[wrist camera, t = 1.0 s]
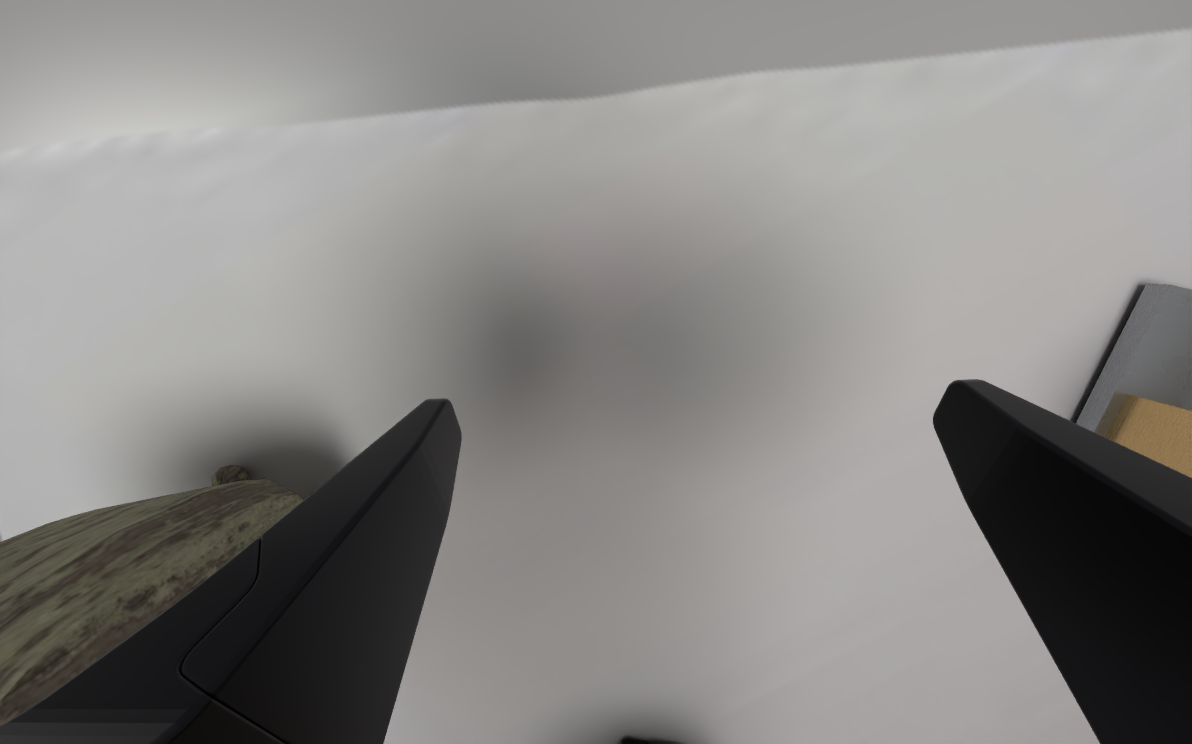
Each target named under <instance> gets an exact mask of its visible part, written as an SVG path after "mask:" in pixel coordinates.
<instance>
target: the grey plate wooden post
mask: <svg viewBox="0 0 1192 744" xmlns="http://www.w3.org/2000/svg"><path fill="white" fill-rule="evenodd" d="M1076 424H1078V425H1080V426H1082V427H1084V428H1086V429H1088V430H1090V431H1092V432H1095V433H1097V434H1099V435H1101V436H1103V437H1105V438H1107V439H1110V440H1112V441H1114V442H1116V443H1118V444H1120V445H1122V446H1125V447H1127V448H1129V449H1131V450H1133V451H1135V452H1137V453H1140V454H1142V455H1144V456H1146V457H1148V458H1150V459H1152V460H1155V461H1157V462H1159V463H1161V464H1163V465H1165V466H1167V467H1170V468H1172V469H1174V470H1176V471H1178V472H1180V473H1182V474H1185V475H1187V476H1189V477H1191V478H1192V290H1190V289H1185V288H1181V287H1177V286H1173V285H1158V284H1146V285H1145V287H1144V289H1143V291H1142V293H1141V295H1140V297H1139V299H1138V301H1137V303H1136V305H1135V307H1134V309H1133V311H1132V313H1131V315H1130V317H1129V319H1128V321H1127V323H1126V325H1125V327H1124V329H1123V331H1122V333H1121V335H1120V337H1119V339H1118V341H1117V343H1116V345H1115V347H1114V349H1113V351H1112V353H1111V355H1110V357H1109V358H1108V360H1107V362H1106V364H1105V366H1104V368H1103V370H1102V372H1101V374H1100V376H1099V378H1098V380H1097V382H1096V384H1095V386H1094V388H1093V390H1092V392H1091V394H1090V396H1089V398H1088V400H1087V402H1086V404H1085V406H1084V408H1083V410H1082V412H1081V414H1080V416H1079V418H1078V420H1077V422H1076Z"/></svg>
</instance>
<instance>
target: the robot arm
mask: <svg viewBox="0 0 1192 744" xmlns="http://www.w3.org/2000/svg"><path fill="white" fill-rule="evenodd" d="M933 425H934V428H935V431H936V433H937V436H938V438H939V440H940V443H941V445H942V448H943V450H944V452H945V455H946V457H947V459H948V462H949V464H950V467H951V469H952V471H953V474H954V476H955V478H956V481H957V483H958V485H959V488H960V490H961V492H962V495H963V497H964V499H965V501H966V503H967V505H968V507H969V509H970V511H971V513H972V515H973V517H974V518H975V520H976V522H977V524H978V526H979V527H980V529H981V531H982V533H983V534H984V536H985V538H986V540H987V542H988V543H989V545H990V547H991V549H992V551H993V552H994V554H995V556H996V558H997V560H998V561H999V563H1000V565H1001V567H1002V569H1003V570H1004V572H1005V574H1006V576H1007V577H1008V579H1009V581H1010V583H1011V585H1012V586H1013V588H1014V590H1015V592H1016V594H1017V595H1018V597H1019V599H1020V601H1021V603H1022V604H1023V606H1024V608H1025V610H1026V612H1027V613H1028V615H1029V617H1030V619H1031V620H1032V622H1033V624H1034V626H1035V628H1036V629H1037V631H1038V633H1039V635H1040V637H1041V638H1042V640H1043V642H1044V644H1045V646H1046V647H1047V649H1048V651H1049V653H1050V654H1051V656H1052V658H1053V660H1054V662H1055V663H1056V665H1057V667H1058V669H1059V671H1060V672H1061V674H1062V676H1063V678H1064V680H1065V681H1066V683H1067V685H1068V687H1069V689H1070V690H1071V692H1072V694H1073V696H1074V697H1075V699H1076V701H1077V703H1078V705H1079V706H1080V708H1081V710H1082V712H1083V714H1084V715H1085V717H1086V719H1087V721H1088V723H1089V724H1090V726H1091V728H1092V730H1093V732H1094V733H1095V735H1096V737H1097V739H1098V740H1099V742H1100V744H1192V478H1191V477H1189V476H1187V475H1185V474H1182V473H1180V472H1178V471H1176V470H1174V469H1172V468H1170V467H1167V466H1165V465H1163V464H1161V463H1159V462H1157V461H1155V460H1152V459H1150V458H1148V457H1146V456H1144V455H1142V454H1140V453H1137V452H1135V451H1133V450H1131V449H1129V448H1127V447H1125V446H1122V445H1120V444H1118V443H1116V442H1114V441H1112V440H1110V439H1107V438H1105V437H1103V436H1101V435H1099V434H1097V433H1095V432H1092V431H1090V430H1088V429H1086V428H1084V427H1082V426H1080V425H1078V424H1075V423H1073V422H1071V421H1069V420H1067V419H1065V418H1063V417H1060V416H1058V415H1056V414H1054V413H1052V412H1050V411H1048V410H1045V409H1043V408H1041V407H1039V406H1037V405H1035V404H1033V403H1030V402H1028V401H1026V400H1024V399H1022V398H1020V397H1018V396H1015V395H1013V394H1011V393H1009V392H1007V391H1005V390H1003V389H1000V388H998V387H996V386H994V385H992V384H990V383H988V382H985V381H983V380H978V379H972V380H956V381H953V382H952V383H951V384H949V386H948V387H947V389H946V391H945V393H944V395H943V397H942V399H941V401H940V403H939V405H938V407H937V409H936V411H935V413H934V416H933ZM460 446H461V430H460V426H459V423H458V421H457V418H456V415H455V412H454V409H453V406H452V404H451V402H450V401H449V400H448V399H428V400H425V401H424V402H423V403H421V404H420V405H419V406H418V407H416V408H415V409H414V410H413V411H412V412H410V413H409V414H408V415H407V416H405V417H404V418H403V419H402V420H401V421H399V422H398V423H397V424H396V425H395V426H393V427H392V428H391V429H390V430H388V431H387V432H386V433H385V434H384V435H382V436H381V437H380V438H379V439H377V440H376V441H375V442H374V443H373V444H371V445H370V446H369V447H368V448H366V449H365V450H364V451H363V452H362V453H360V454H359V455H358V456H357V457H356V458H354V459H353V460H352V461H351V462H349V463H348V464H347V465H346V466H345V467H343V468H342V469H341V470H340V471H338V472H337V473H336V474H335V475H334V476H332V477H331V478H330V479H329V480H327V481H326V482H325V483H324V484H323V485H321V486H320V487H319V488H318V489H317V490H315V491H314V492H313V493H312V494H310V495H309V496H308V497H307V498H306V499H304V500H303V501H302V502H301V503H299V504H298V505H297V506H296V507H295V508H293V509H292V510H291V511H290V512H288V513H287V514H286V515H285V516H284V517H282V518H281V519H280V520H279V521H277V522H276V523H275V524H274V525H273V526H271V527H270V528H269V529H268V530H267V531H265V532H264V533H263V534H262V535H261V538H257V539H255V540H254V541H253V542H252V543H250V544H249V545H248V546H247V547H246V548H244V549H243V550H242V551H241V552H239V553H238V554H237V555H236V556H235V557H233V558H232V559H231V560H230V561H228V562H227V563H226V564H225V565H223V566H222V567H221V568H220V569H218V570H217V571H216V572H214V573H213V574H212V575H211V576H209V577H208V578H207V579H206V580H204V581H203V582H202V583H201V584H199V585H198V586H197V587H195V588H194V589H193V590H191V591H190V592H189V593H187V594H186V595H185V596H183V597H182V598H181V599H179V600H178V601H177V602H175V603H174V604H173V605H171V606H170V607H169V608H167V609H166V610H165V611H163V612H162V613H161V614H159V615H158V616H157V617H155V618H154V619H152V620H151V621H150V622H148V623H147V624H146V625H144V626H143V627H141V628H140V629H139V630H137V631H136V632H135V633H133V634H132V635H130V636H129V637H128V638H126V639H125V640H124V641H122V642H121V643H119V644H118V645H117V646H115V647H114V648H113V649H111V650H110V651H108V652H107V653H106V654H104V655H103V656H102V657H100V658H99V659H97V660H96V661H95V662H93V663H92V664H91V665H89V666H88V667H86V668H85V669H84V670H82V671H81V672H80V673H78V674H77V675H75V676H74V677H73V678H71V679H70V680H69V681H67V682H66V683H64V684H63V685H62V686H60V687H59V688H58V689H56V690H55V691H53V692H52V693H51V694H49V695H48V696H46V697H45V698H43V699H42V700H41V701H39V702H38V703H36V704H35V705H33V706H32V707H30V708H29V709H27V710H26V711H24V712H22V713H21V714H19V715H17V716H16V717H14V718H12V719H11V720H9V721H8V722H6V723H4V724H2V725H0V744H383V743H384V739H385V736H386V732H387V729H388V725H389V722H390V719H391V715H392V712H393V708H394V705H395V701H396V698H397V694H398V691H399V687H400V684H401V680H402V677H403V673H404V670H405V666H406V663H407V659H408V656H409V652H410V649H411V646H412V642H413V639H414V635H415V632H416V628H417V625H418V621H419V618H420V614H421V611H422V607H423V604H424V600H425V597H426V593H427V590H428V586H429V583H430V580H431V576H432V573H433V569H434V566H435V562H436V559H437V555H438V552H439V548H440V545H441V541H442V538H443V534H444V531H445V527H446V524H447V520H448V516H449V511H450V506H451V501H452V495H453V489H454V483H455V477H456V470H457V464H458V458H459V452H460ZM620 744H649V743H644V742H640V741H635V740H631V739H625V740H623V741H621V743H620Z"/></svg>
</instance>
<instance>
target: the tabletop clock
mask: <svg viewBox="0 0 1192 744" xmlns="http://www.w3.org/2000/svg"><path fill="white" fill-rule="evenodd" d="M302 501H303V500H302V499H301V498H300V497H299V496H298V495H297V494H296V493H294V492H292V491H290V490H288V489H286V488H284V487H282V486H280V485H278V484H276V483H274V482H272V481H270V480H268V479H259V480H248V479H247V472H246V471H245V470H244V469H243V468H242V467H239V466H235V465H229V466H226V467H222V468H220V469H219V470H218V471H217V472H216V473H215V474H214V475H213V477H212V487H207V488H202V489H197V490H192V491H187V492H182V493H177V494H172V495H167V496H162V497H157V498H152V499H147V500H142V501H137V502H132V503H127V504H122V505H117V506H111V507H106V508H101V509H97V510H93V511H89V512H85V513H82V514H78V515H74V516H71V517H68V518H64V519H61V520H58V521H54V522H51V523H48V524H45V525H43V526H40V527H38V528H35V529H33V530H30V531H28V532H25V533H23V534H20V535H17V536H15V537H12V538H10V539H7V540H5V541H2V542H0V725H2V724H4V723H6V722H8V721H9V720H11V719H12V718H14V717H16V716H17V715H19V714H21V713H22V712H24V711H26V710H27V709H29V708H30V707H32V706H33V705H35V704H36V703H38V702H39V701H41V700H42V699H43V698H45V697H46V696H48V695H49V694H51V693H52V692H53V691H55V690H56V689H58V688H59V687H60V686H62V685H63V684H64V683H66V682H67V681H69V680H70V679H71V678H73V677H74V676H75V675H77V674H78V673H80V672H81V671H82V670H84V669H85V668H86V667H88V666H89V665H91V664H92V663H93V662H95V661H96V660H97V659H99V658H100V657H102V656H103V655H104V654H106V653H107V652H108V651H110V650H111V649H113V648H114V647H115V646H117V645H118V644H119V643H121V642H122V641H124V640H125V639H126V638H128V637H129V636H130V635H132V634H133V633H135V632H136V631H137V630H139V629H140V628H141V627H143V626H144V625H146V624H147V623H148V622H150V621H151V620H152V619H154V618H155V617H157V616H158V615H159V614H161V613H162V612H163V611H165V610H166V609H167V608H169V607H170V606H171V605H173V604H174V603H175V602H177V601H178V600H179V599H181V598H182V597H183V596H185V595H186V594H187V593H189V592H190V591H191V590H193V589H194V588H195V587H197V586H198V585H199V584H201V583H202V582H203V581H204V580H206V579H207V578H208V577H209V576H211V575H212V574H213V573H214V572H216V571H217V570H218V569H220V568H221V567H222V566H223V565H225V564H226V563H227V562H228V561H230V560H231V559H232V558H233V557H235V556H236V555H237V554H238V553H239V552H241V551H242V550H243V549H244V548H246V547H247V546H248V545H249V544H250V543H252V542H253V541H254V540H255V539H257V538H261V535H262V534H263V533H264V532H265V531H267V530H268V529H269V528H270V527H271V526H273V525H274V524H275V523H276V522H277V521H279V520H280V519H281V518H282V517H284V516H285V515H286V514H287V513H288V512H290V511H291V510H292V509H293V508H295V507H296V506H297V505H298V504H299V503H301V502H302Z"/></svg>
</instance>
